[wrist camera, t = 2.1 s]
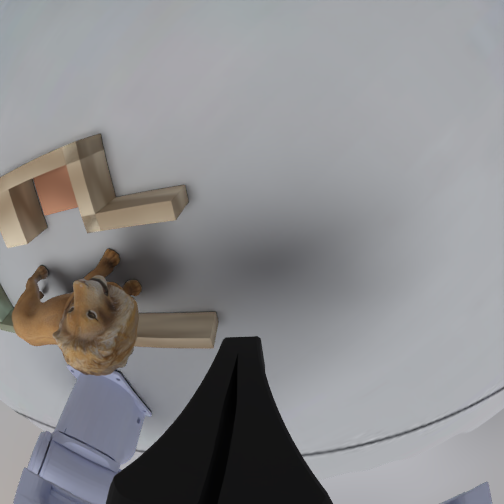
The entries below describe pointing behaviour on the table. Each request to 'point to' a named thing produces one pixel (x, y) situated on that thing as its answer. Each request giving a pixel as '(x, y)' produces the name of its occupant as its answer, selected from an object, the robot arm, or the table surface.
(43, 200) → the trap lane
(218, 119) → the table surface
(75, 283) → the lion figurine
